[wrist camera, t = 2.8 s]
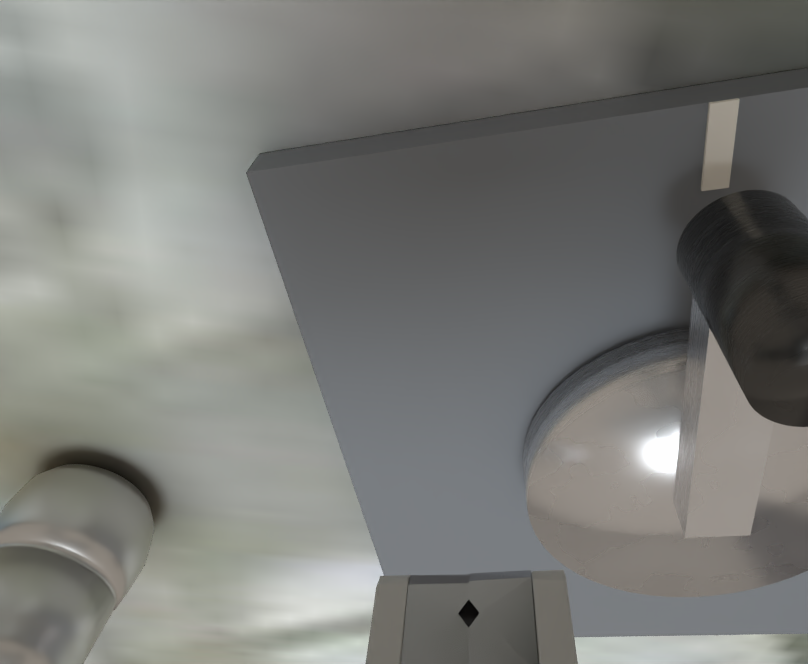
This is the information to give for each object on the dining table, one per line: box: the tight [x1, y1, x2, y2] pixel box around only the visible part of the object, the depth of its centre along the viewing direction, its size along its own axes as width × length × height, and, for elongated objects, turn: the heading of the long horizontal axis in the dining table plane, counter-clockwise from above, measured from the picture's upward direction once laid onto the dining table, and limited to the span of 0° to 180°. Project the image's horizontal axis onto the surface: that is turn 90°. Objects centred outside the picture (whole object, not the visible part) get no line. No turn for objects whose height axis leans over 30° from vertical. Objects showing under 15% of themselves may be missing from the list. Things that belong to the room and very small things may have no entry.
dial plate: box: [246, 68, 808, 637], centre depth 24 cm, size 26×26×2 cm
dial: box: [523, 190, 808, 597], centre depth 19 cm, size 18×12×7 cm
